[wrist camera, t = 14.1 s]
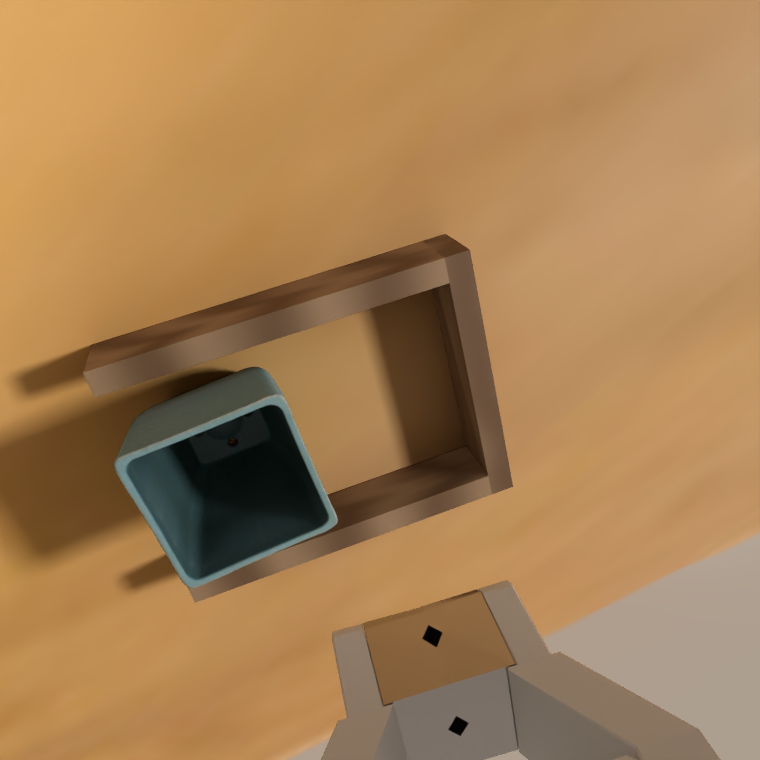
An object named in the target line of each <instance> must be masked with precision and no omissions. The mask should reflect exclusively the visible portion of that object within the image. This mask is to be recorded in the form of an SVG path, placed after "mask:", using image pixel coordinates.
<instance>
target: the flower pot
mask: <svg viewBox="0 0 760 760" xmlns="http://www.w3.org/2000/svg"><path fill="white" fill-rule="evenodd" d="M250 412H251V413H250ZM247 413H250V414H247ZM201 432H202V433H201ZM198 433H201V434H198ZM197 434H198V435H197ZM231 438H235V439H237V443H236V444H235V445H231V444H229V440H230V439H231ZM114 469H115V471H116V473H117V475H118V477H119V479H120V480H121V482H122V483H123V485H124V486H125V488H126V489H127V491H128V493H129V494H130V496H131V498H132V499H133V500H134V502H135V504H136V505H137V507H138V508H139V510H140V511H141V513H142V515H143V516H144V518H145V520H146V522H147V523H148V525H149V526H150V528H151V530H152V531H153V533H154V535H155V536H156V538H157V540H158V542H159V543H160V545H161V547H162V548H163V550H164V552H165V554H166V555H167V557H168V558H169V560H170V562H171V564H172V565H173V567H174V569H175V570H176V572H177V574H178V576H179V577H180V579H181V581H182V582H183V583H184V584H185V585H186V586H187V587H189V588H195V587H198V586H201V585H204V584H206V583H208V582H210V581H213V580H215V579H218V578H220V577H222V576H224V575H227V574H229V573H231V572H233V571H234V570H237V569H239V568H241V567H243V566H246V565H248V564H251V563H253V562H255V561H257V560H259V559H262V558H264V557H267V556H269V555H271V554H273V553H276V552H278V551H280V550H282V549H285V548H287V547H289V546H292V545H294V544H296V543H299V542H301V541H303V540H306V539H308V538H311V537H313V536H316V535H318V534H321V533H324V532H326V531H327V530H329V529H331V528H332V527H334V526H335V525H336V524H337V522H338V519H337V515H336V513H335V510H334V508H333V506H332V504H331V502H330V500H329V498H328V496H327V493H326V491H325V489H324V487H323V485H322V483H321V480H320V478H319V476H318V473H317V471H316V469H315V467H314V464H313V462H312V460H311V458H310V455H309V453H308V451H307V449H306V446H305V444H304V442H303V439H302V437H301V435H300V432H299V430H298V427H297V425H296V423H295V420H294V418H293V415H292V412H291V410H290V408H289V406H288V403H287V401H286V399H285V398H284V396H283V394H282V392H281V391H280V389H279V387H278V386H277V384H276V383H275V381H274V380H273V378H272V377H271V375H270V374H269V373H268V372H267V371H266V370H264V369H262V368H259V367H250V368H246V369H243V370H240V371H238V372H235V373H233V374H231V375H228V376H226V377H223V378H221V379H218V380H216V381H213V382H211V383H208V384H206V385H204V386H201V387H199V388H196V389H194V390H191V391H189V392H186V393H184V394H181V395H179V396H176V397H174V398H171V399H169V400H166V401H163V402H161V403H159V404H156V405H154V406H152V407H150V408H148V409H147V410H145V411H144V412H142V413H141V414H140V415H139V416H138V417H137V418H136V419H135V420H134V422H133V423H132V425H131V427H130V429H129V431H128V433H127V435H126V437H125V439H124V442H123V444H122V446H121V448H120V451H119V453H118V455H117V458H116V460H115V462H114Z"/></svg>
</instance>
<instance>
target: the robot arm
mask: <svg viewBox="0 0 760 760" xmlns="http://www.w3.org/2000/svg"><path fill="white" fill-rule="evenodd" d="M363 626H364V628H363ZM364 630H365V632H364ZM365 634H366V635H365ZM366 638H367V639H366ZM332 642H333V647H334V652H335V658H336V663H337V668H338V673H339V678H340V684H341V689H342V694H343V699H344V705H345V710H346V715H347V718H345V719H342V720H339V721H338V722H337V724H336V727H335V729H334V731H333V734H332V736H331V738H330V740H329V743H328V745H327V748H326V750H325V752H324V754H323V756H322V759H321V760H484V759H487V758H491V757H494V756H498V755H501V754H505V753H508V752H511V751H514V750H518V749H519V752H520V753H521V754H522V755H523V756H525V757H526V758H527V759H528V760H720V758H719V757H718V756H717V754H716V753H715V751H714V750H713V748H712V747H711V746H710V744H709V743H708V742H707V740H706V739H705V737H704V736H703V734H702V733H701V731H700V730H699V729H698V728H696V727H694V726H692V725H690V724H689V723H687V722H685V721H683V720H681V719H680V718H678V717H676V716H674V715H672V714H670V713H669V712H667V711H665V710H663V709H661V708H660V707H658V706H656V705H654V704H652V703H651V702H649V701H647V700H645V699H644V698H642V697H640V696H638V695H636V694H635V693H633V692H631V691H629V690H627V689H626V688H624V687H622V686H620V685H618V684H617V683H615V682H613V681H611V680H609V679H608V678H606V677H604V676H602V675H600V674H599V673H597V672H595V671H593V670H591V669H590V668H588V667H586V666H584V665H582V664H581V663H579V662H577V661H575V660H573V659H572V658H570V657H568V656H566V655H564V654H563V653H561V652H558V653H554V654H550V652H549V650H548V648H547V647H546V645H545V643H544V641H543V639H542V637H541V636H540V634H539V632H538V630H537V628H536V627H535V625H534V623H533V621H532V619H531V617H530V616H529V614H528V612H527V610H526V608H525V607H524V605H523V603H522V601H521V599H520V598H519V596H518V594H517V592H516V590H515V589H514V587H513V585H512V583H510V582H509V581H508V580H506V581H502V582H499V583H496V584H493V585H489V586H486V587H483V588H480V589H479V590H477V589H476V590H473V591H470V592H467V593H463V594H460V595H457V596H454V597H451V598H447V599H444V600H441V601H438V602H434V603H431V604H428V605H425V606H421V607H420V608H416V609H413V610H409V611H405V612H402V613H398V614H394V615H391V616H387V617H383V618H379V619H376V620H372V621H368V622H365V623H363V625H362V624H360V625H356V626H352V627H349V628H345V629H341V630H338V631H334V632H332ZM367 642H368V643H367Z"/></svg>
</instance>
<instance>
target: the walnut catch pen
mask: <svg viewBox="0 0 760 760" xmlns="http://www.w3.org/2000/svg"><path fill="white" fill-rule="evenodd" d="M430 289H433V293H434V298H435V302H436V307H437V312H438V317H439V321H440V326H441V331H442V335H443V340H444V345H445V349H446V354H447V359H448V363H449V368H450V373H451V377H452V382H453V387H454V392H455V396H456V401H457V406H458V410H459V415H460V420H461V424H462V429H463V434H464V438H465V443H466V446H465V447H462V448H459V449H456V450H454V451H451V452H448V453H445V454H442V455H439V456H437V457H434V458H431V459H428V460H425V461H423V462H420V463H417V464H414V465H411V466H408V467H406V468H403V469H400V470H397V471H394V472H392V473H389V474H386V475H383V476H380V477H377V478H375V479H372V480H369V481H366V482H363V483H360V484H358V485H355V486H352V487H349V488H346V489H344V490H341V491H338V492H335V493H332V494H329V495H327V496H328V498H329V500H330V502H331V504H332V506H333V508H334V510H335V513H336V515H337V519H338V522H337V524H336V525H335V526H334V527H332V528H331V529H329V530H327V531H326V532H324V533H321V534H318V535H316V536H313V537H311V538H308V539H306V540H303V541H301V542H299V543H296V544H294V545H292V546H289V547H287V548H285V549H282V550H280V551H278V552H276V553H273V554H271V555H269V556H267V557H264V558H262V559H259V560H257V561H255V562H253V563H251V564H248V565H246V566H243V567H241V568H239V569H237V570H234V571H233V572H231V573H229V574H227V575H224V576H222V577H220V578H218V579H215V580H213V581H210V582H208V583H206V584H204V585H201V586H198V587H195V588H189V587H188V589H189V591H190V593H191V595H192V597H193V599H194V601H195V602H198V601H201V600H204V599H206V598H209V597H212V596H215V595H217V594H220V593H223V592H226V591H228V590H231V589H234V588H236V587H239V586H242V585H245V584H247V583H250V582H253V581H256V580H258V579H261V578H264V577H267V576H269V575H272V574H275V573H278V572H280V571H283V570H286V569H289V568H291V567H294V566H297V565H299V564H302V563H305V562H308V561H310V560H313V559H316V558H319V557H321V556H324V555H327V554H330V553H332V552H335V551H338V550H341V549H343V548H346V547H349V546H352V545H354V544H357V543H360V542H362V541H365V540H368V539H371V538H373V537H376V536H379V535H382V534H384V533H387V532H390V531H393V530H395V529H398V528H401V527H404V526H406V525H409V524H412V523H415V522H417V521H420V520H423V519H425V518H428V517H431V516H434V515H436V514H439V513H442V512H445V511H447V510H450V509H453V508H456V507H458V506H461V505H464V504H467V503H469V502H472V501H475V500H477V499H480V498H483V497H486V496H488V495H491V494H494V493H497V492H499V491H502V490H505V489H508V488H510V487H513V484H512V479H511V473H510V468H509V462H508V457H507V451H506V446H505V440H504V435H503V429H502V424H501V418H500V413H499V407H498V402H497V396H496V391H495V385H494V380H493V374H492V369H491V363H490V358H489V352H488V347H487V341H486V336H485V330H484V325H483V319H482V314H481V309H480V303H479V298H478V292H477V287H476V281H475V276H474V270H473V265H472V259H471V254H470V250H469V249H468V248H466V247H465V246H463V245H462V244H460V243H459V242H457V241H456V240H454V239H453V238H451V237H449V236H448V235H446V234H444V235H441V236H438V237H435V238H432V239H428V240H425V241H422V242H419V243H416V244H412V245H409V246H406V247H403V248H400V249H396V250H393V251H390V252H387V253H384V254H380V255H377V256H374V257H371V258H368V259H364V260H361V261H358V262H355V263H352V264H349V265H345V266H342V267H339V268H336V269H333V270H329V271H326V272H323V273H320V274H317V275H313V276H310V277H307V278H304V279H301V280H297V281H294V282H291V283H288V284H285V285H281V286H278V287H275V288H272V289H269V290H266V291H262V292H259V293H256V294H253V295H250V296H246V297H243V298H240V299H237V300H234V301H230V302H227V303H224V304H221V305H218V306H214V307H211V308H208V309H205V310H202V311H198V312H195V313H192V314H189V315H186V316H182V317H179V318H176V319H173V320H170V321H167V322H163V323H160V324H157V325H154V326H151V327H147V328H144V329H141V330H138V331H135V332H131V333H128V334H125V335H122V336H119V337H115V338H112V339H109V340H106V341H103V342H99V343H96V344H93V345H91V348H90V351H89V355H88V358H87V361H86V364H85V367H84V370H83V374H84V376H85V378H86V380H87V382H88V384H89V386H90V389H91V391H92V393H93V395H94V397H98V396H101V395H104V394H107V393H110V392H113V391H117V390H120V389H123V388H126V387H129V386H132V385H135V384H138V383H141V382H144V381H148V380H151V379H154V378H157V377H160V376H163V375H166V374H169V373H172V372H175V371H179V370H182V369H185V368H188V367H191V366H194V365H197V364H200V363H203V362H206V361H210V360H213V359H216V358H219V357H222V356H225V355H228V354H231V353H234V352H237V351H241V350H244V349H247V348H250V347H253V346H256V345H259V344H262V343H265V342H268V341H272V340H275V339H278V338H281V337H284V336H287V335H290V334H293V333H296V332H299V331H303V330H306V329H309V328H312V327H315V326H318V325H321V324H324V323H327V322H330V321H334V320H337V319H340V318H343V317H346V316H349V315H352V314H355V313H358V312H361V311H365V310H368V309H371V308H374V307H377V306H380V305H383V304H386V303H389V302H392V301H396V300H399V299H402V298H405V297H408V296H411V295H414V294H417V293H420V292H423V291H427V290H430Z"/></svg>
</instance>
